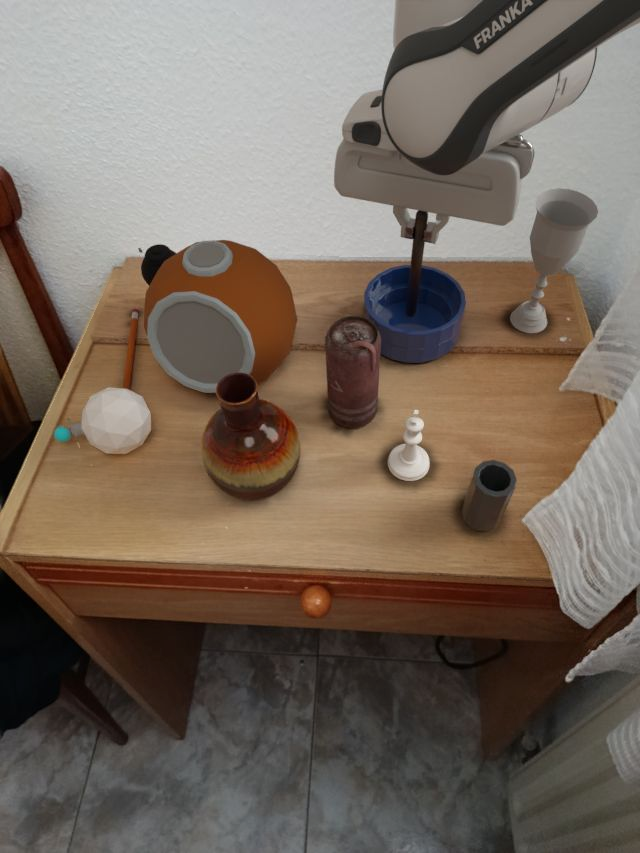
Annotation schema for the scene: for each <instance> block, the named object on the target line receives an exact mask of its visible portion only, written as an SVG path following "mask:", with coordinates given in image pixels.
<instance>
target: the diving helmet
mask: <svg viewBox="0 0 640 853" xmlns="http://www.w3.org/2000/svg"><path fill="white" fill-rule="evenodd" d="M175 253H176V254H175V255H173V256H172V257H170V258H168V259H167V260H165V261H164V263H163V264H162V265H161V267H160V268H159V270H158V271H157V273H156V275H155V277H154V278H153V280H152V282H151V284H150V286H149V285H148V287H147V289H146V291H145V297H144V303H143V304H144V305H143V330H144V332H145V334H146V339H147V342H148V344H149V347H150V350H151V353H152V355H153V357H154V359H155V360H156V361H157V363H158V364H159V365H160V367H161V368H162V369H163V370H164V371H165V373H166V374H167V375H168V376H170V377H171V378H173V379H174V380H176V381H177V382H178V383H179V384H181V385H182V386H184V387H187V388H189V389H192V390H196V391H198V392H201V393H205V394H206V393H207V394H208V393H210V394H216V386H217V384H218V382H219V381H220V380H221V379H222V378H223V377H225V376H226V375H228V374H231V373H236V372H242V373H246V374H249V375H251V376H252V377H253V378H254V379H255V380H256V382H257V385H259V384H261V383H263V382H266V381H268V379H269V378H270V377H271V376H272V375H273V374H274V373H275V371H276V370H277V369H278V368H279V367H280V365H281V364H282V363H283V362H284V361H285V359H286V358H287V357H288V356H289V355H290V352H291V349H292V344H293V341H294V337H295V333H296V329H297V328H296V327H297V323H298V316H297V311H296V307H295V306H296V305H295V301H294V296H293V292H292V287H291V286H290V285H289V283H288V282H287V279H286V278H285V276H284V275H283V274H282V272H281V270H280V269H279V267H278V266H277V264H276V263H274V262H273V261H272V260H271V259H269V258H268V257H267V256H265V255H264V254H263V253H261V252H260V251H259V250H258V249H256V248H254V247H251V246H248V245H245V244H241V243H238V242H235V241H233V240H229V239H228V240H227V239H217V240H215V239H214V240H201V241H196V242H193V243H192V244H190V245H188V246H186V247H184V248H183V249H181V250H180V251H178V252H175Z"/></svg>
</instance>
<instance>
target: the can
mask: <svg viewBox="0 0 640 853" xmlns="http://www.w3.org/2000/svg"><path fill="white" fill-rule="evenodd" d="M324 348H325V368H326V388H327V389H326V390H327V409H328V414H329V417H330V418H331V419H332V421H333V422H334V423H335V424H337V425H339V426H341V427H342V428H347V429H359V428H363V427H365V426H366V425H368V424H370V423H372V421H373V420H374V419H375V417H376V415H377V412H378V400H379V399H378V398H379V384H380V369H381V368H380V367H381V354H380V352H381V335H380V333H379V331H378V329H377V328H376V326H375V324H374V323H373V322H371V321H370V320H368V319H366V318H364V316H359V315H347V316H342V317H340V318H338V319H336V320H335V321H334V322H332V323H331V325H330V326H329V328H328V329H327V332H326V334H325V336H324Z"/></svg>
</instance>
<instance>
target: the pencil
mask: <svg viewBox="0 0 640 853" xmlns="http://www.w3.org/2000/svg"><path fill="white" fill-rule="evenodd" d="M131 312H132V313H131V317H130V318H131V320H130V327H129V334H128V343H127V351H126V360H125V367H124V376H123V383H122V388H123V389H129V390H131V381H132V371H133V364H134V355H135V346H136V337H137V331H138V330H137V329H138V321H139V312H140V311H139V309H138V308H133V309H132V310H131Z"/></svg>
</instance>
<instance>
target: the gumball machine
mask: <svg viewBox="0 0 640 853" xmlns="http://www.w3.org/2000/svg"><path fill="white" fill-rule="evenodd" d="M138 251H139V253H143V249H142V248H141V247H138ZM176 253H177V252H176V251H174V250H172V249H171V248H170V247H169V246H167V245H165V244H161V243H160V244H154V245H151V246H149V247H148V248H147V249H146V250H145V253H144V257H143V259H142V261H141V265H140V271H141V277H142V278H143V280H144V282H145V283H146V284H147V285H148V287H149V286H150V284H151V282H152V280H153V278H154V277H155V275H156V273H157V271H158V270H159V268H160V267H161V265H162V264H163V263H164V261H165V260H167V259H168V258H170V257H172V256H173V255H175V254H176Z"/></svg>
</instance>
